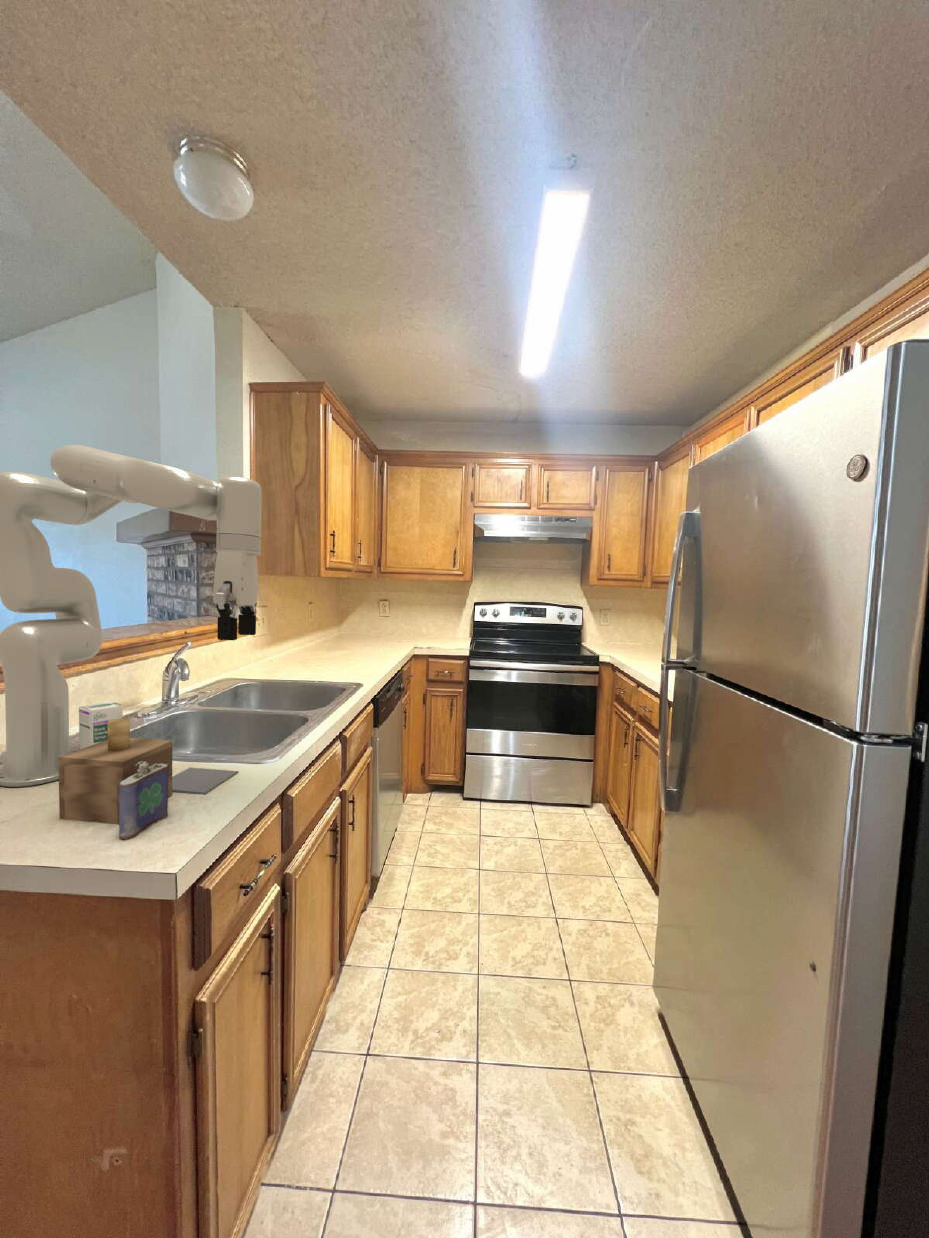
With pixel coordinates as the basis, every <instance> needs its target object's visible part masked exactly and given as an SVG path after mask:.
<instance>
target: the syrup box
mask: <svg viewBox="0 0 929 1238" xmlns="http://www.w3.org/2000/svg"><path fill="white" fill-rule="evenodd" d="M123 710H124V709H123V705H122V704H120V703H118V702H116V701H111V700H110V701H106V702H101V703H95V704H88V705H80V706H78V729H79V731H78V733H79V750H80V749H83V748H86V747H88V746H91V745H94V744H97V743H99V742H102V741H105V740H108V721H109V720H112V719H118V718H124V714H123V713H124V711H123Z"/></svg>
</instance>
